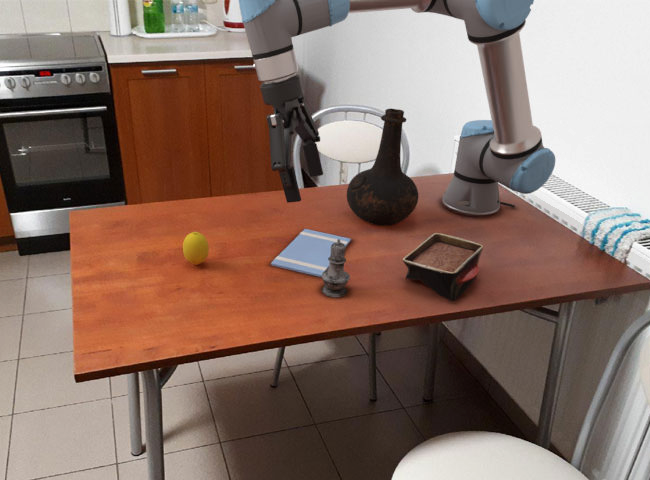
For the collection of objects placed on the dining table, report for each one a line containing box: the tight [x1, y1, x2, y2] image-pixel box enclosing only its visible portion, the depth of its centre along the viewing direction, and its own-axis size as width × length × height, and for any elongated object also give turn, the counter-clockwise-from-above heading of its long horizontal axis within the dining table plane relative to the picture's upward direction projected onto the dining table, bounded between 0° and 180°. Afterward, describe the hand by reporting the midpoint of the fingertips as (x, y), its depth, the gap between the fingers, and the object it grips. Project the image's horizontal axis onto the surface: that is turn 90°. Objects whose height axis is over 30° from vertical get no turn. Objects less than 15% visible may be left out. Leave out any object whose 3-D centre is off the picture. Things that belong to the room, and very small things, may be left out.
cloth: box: [270, 228, 352, 278], centre depth 147 cm, size 12×20×1 cm, turn 156°
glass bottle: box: [346, 108, 419, 227], centre depth 157 cm, size 18×18×28 cm
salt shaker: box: [321, 239, 351, 298], centre depth 129 cm, size 6×6×12 cm
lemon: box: [182, 231, 210, 266], centre depth 138 cm, size 6×6×8 cm
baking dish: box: [402, 232, 484, 302], centre depth 136 cm, size 14×18×10 cm
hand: (306, 188), depth 125 cm, fingers open, 13 cm apart
